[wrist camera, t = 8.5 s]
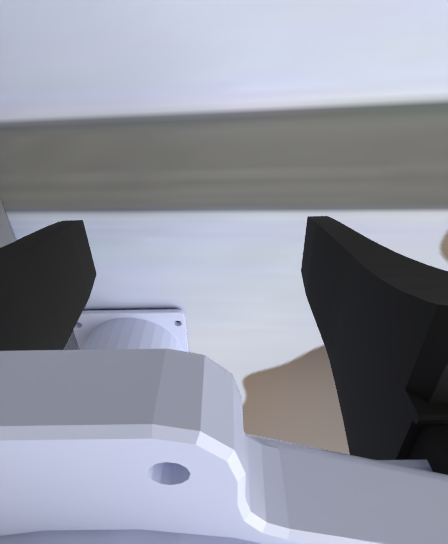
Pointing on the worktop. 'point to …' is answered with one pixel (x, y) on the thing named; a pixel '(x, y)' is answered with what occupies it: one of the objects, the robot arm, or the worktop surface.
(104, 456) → the robot arm
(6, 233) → the mounting plate
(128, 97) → the worktop surface
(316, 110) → the worktop surface
